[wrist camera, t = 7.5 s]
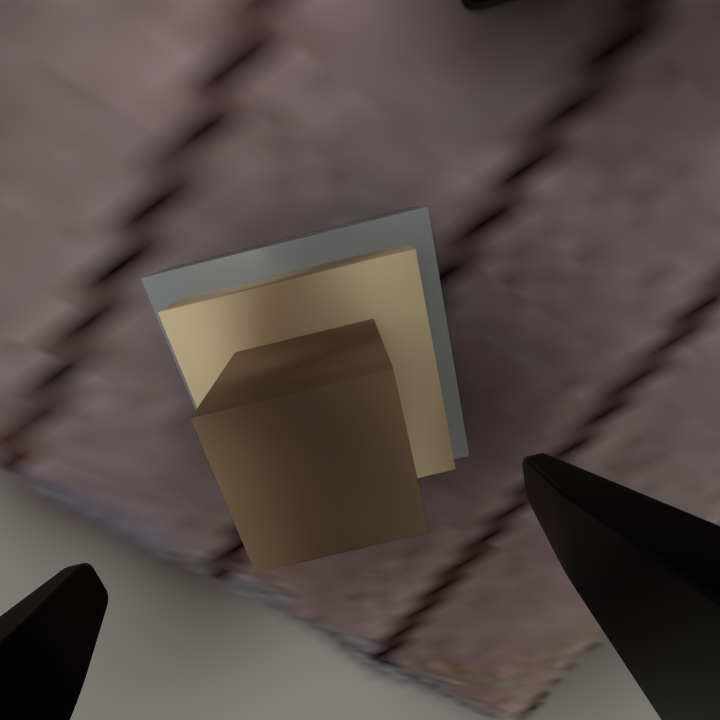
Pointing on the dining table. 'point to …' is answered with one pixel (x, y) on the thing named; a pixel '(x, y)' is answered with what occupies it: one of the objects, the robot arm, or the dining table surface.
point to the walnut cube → (312, 447)
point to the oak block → (318, 313)
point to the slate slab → (320, 250)
